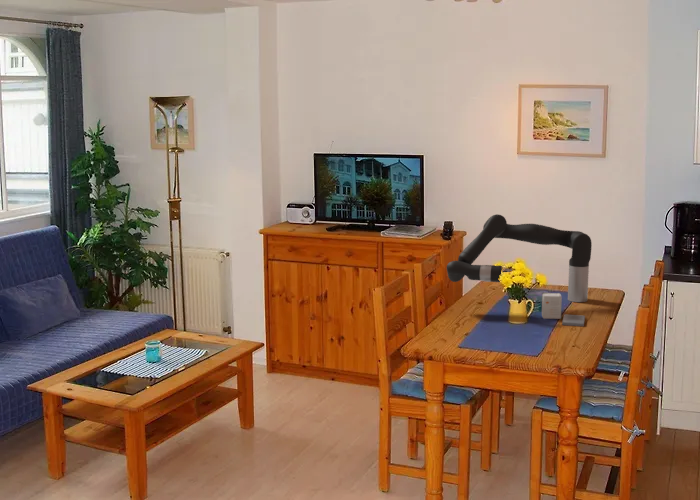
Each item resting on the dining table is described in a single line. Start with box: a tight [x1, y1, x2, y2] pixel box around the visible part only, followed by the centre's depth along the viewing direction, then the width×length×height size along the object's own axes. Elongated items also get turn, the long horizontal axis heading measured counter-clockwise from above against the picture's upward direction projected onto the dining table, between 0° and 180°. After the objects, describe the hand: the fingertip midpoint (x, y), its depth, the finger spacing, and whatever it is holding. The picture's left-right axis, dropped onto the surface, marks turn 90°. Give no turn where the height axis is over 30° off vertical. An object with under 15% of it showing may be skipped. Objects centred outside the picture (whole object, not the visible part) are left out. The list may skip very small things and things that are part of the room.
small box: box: [541, 292, 563, 320], centre depth 386 cm, size 8×6×10 cm
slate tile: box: [561, 313, 586, 327], centre depth 379 cm, size 14×9×1 cm, turn 163°
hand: (527, 275), depth 387 cm, fingers open, 8 cm apart
